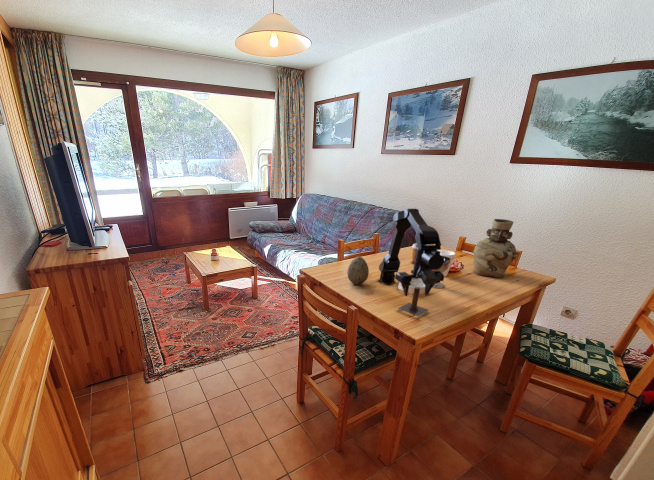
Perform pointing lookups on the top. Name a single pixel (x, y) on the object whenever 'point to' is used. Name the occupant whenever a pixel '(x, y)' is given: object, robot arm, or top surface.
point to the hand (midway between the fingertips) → (415, 295)
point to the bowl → (414, 284)
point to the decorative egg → (358, 271)
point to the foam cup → (447, 254)
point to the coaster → (416, 313)
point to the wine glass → (442, 269)
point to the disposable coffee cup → (414, 252)
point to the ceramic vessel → (495, 250)
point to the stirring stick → (415, 299)
